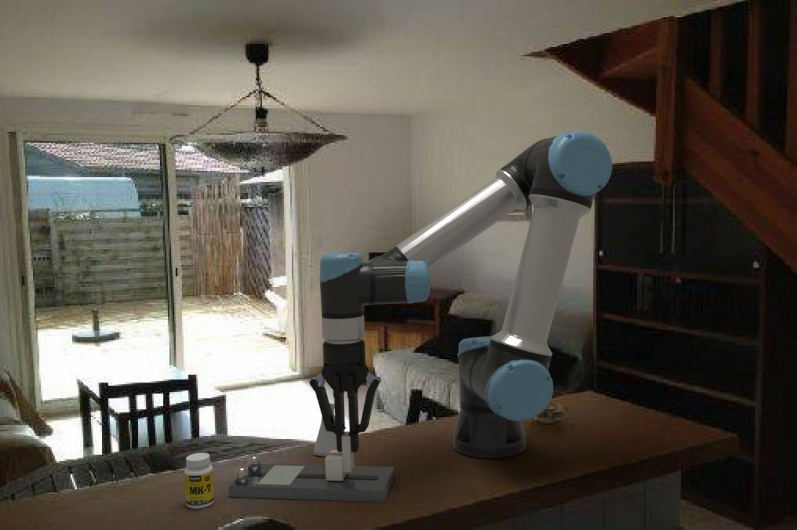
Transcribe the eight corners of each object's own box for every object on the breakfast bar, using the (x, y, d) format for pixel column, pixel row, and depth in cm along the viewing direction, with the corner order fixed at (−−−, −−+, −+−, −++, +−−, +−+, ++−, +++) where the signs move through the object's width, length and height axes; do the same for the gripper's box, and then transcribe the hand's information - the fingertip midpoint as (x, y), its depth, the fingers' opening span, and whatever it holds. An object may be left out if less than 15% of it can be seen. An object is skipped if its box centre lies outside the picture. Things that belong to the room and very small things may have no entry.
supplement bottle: (187, 511, 117) (184, 463, 116) (184, 501, 121) (181, 454, 120) (216, 505, 119) (213, 458, 118) (212, 495, 123) (209, 450, 122)
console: (394, 477, 128) (393, 453, 128) (383, 502, 117) (382, 475, 117) (252, 473, 133) (250, 450, 133) (229, 496, 122) (227, 471, 122)
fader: (348, 471, 126) (347, 449, 126) (342, 480, 122) (341, 457, 122) (332, 471, 127) (331, 448, 126) (326, 480, 122) (324, 457, 122)
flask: (341, 458, 139) (339, 410, 139) (307, 457, 141) (305, 409, 140) (351, 446, 146) (349, 400, 146) (318, 445, 148) (316, 400, 147)
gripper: (383, 335, 125) (387, 462, 126) (314, 336, 127) (319, 460, 128) (375, 343, 117) (380, 478, 119) (302, 343, 119) (307, 476, 121)
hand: (348, 469), depth 124 cm, fingers closed
